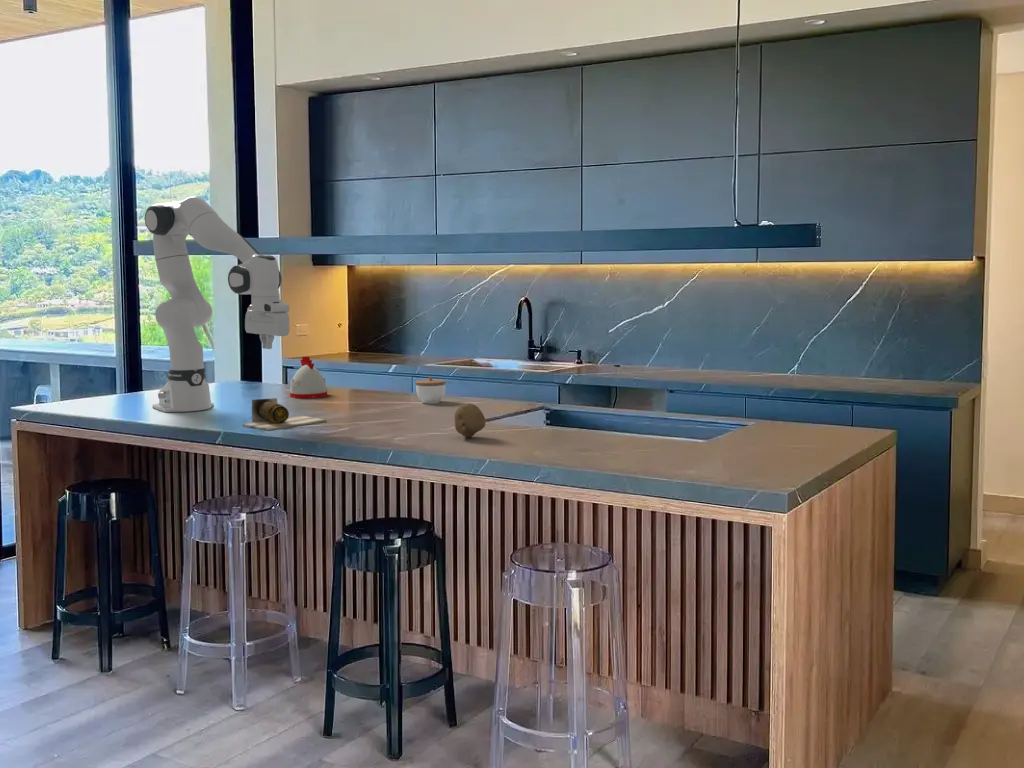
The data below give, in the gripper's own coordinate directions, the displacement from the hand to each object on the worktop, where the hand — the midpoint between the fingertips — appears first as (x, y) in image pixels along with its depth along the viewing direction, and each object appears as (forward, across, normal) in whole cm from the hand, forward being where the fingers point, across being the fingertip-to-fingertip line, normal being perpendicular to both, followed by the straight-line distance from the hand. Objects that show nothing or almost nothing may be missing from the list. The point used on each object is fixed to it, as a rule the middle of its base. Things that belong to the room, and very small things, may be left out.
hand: (267, 348), depth 334 cm
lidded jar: (+23, +10, +61) cm, 66 cm away
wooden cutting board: (+23, +8, 0) cm, 25 cm away
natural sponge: (+23, +72, +20) cm, 78 cm away
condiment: (+20, 0, -2) cm, 20 cm away
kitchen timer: (+24, -40, +44) cm, 64 cm away
